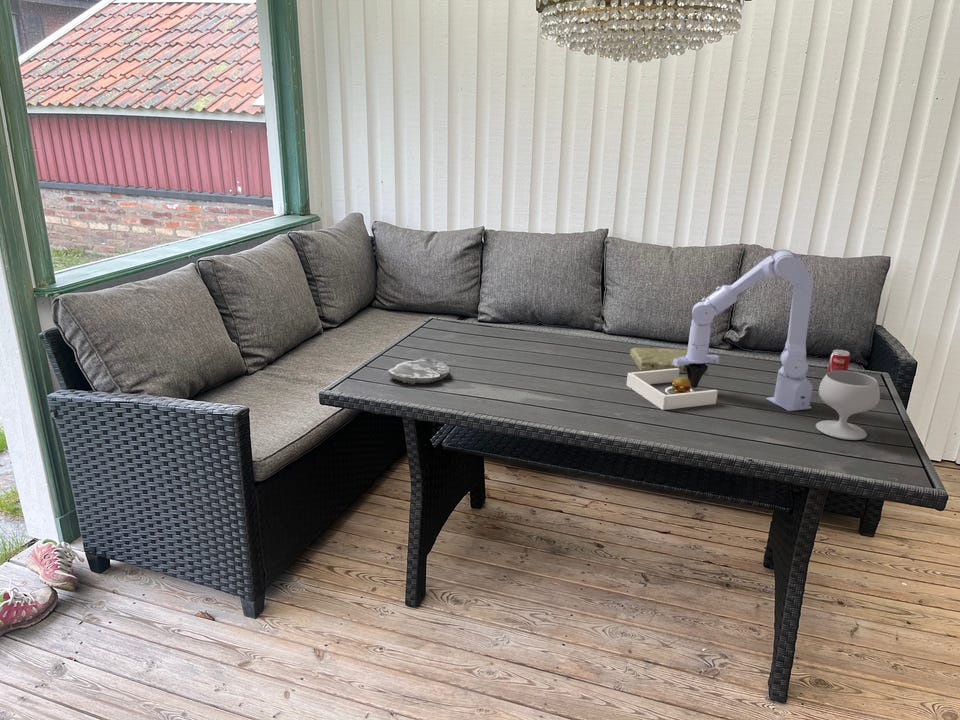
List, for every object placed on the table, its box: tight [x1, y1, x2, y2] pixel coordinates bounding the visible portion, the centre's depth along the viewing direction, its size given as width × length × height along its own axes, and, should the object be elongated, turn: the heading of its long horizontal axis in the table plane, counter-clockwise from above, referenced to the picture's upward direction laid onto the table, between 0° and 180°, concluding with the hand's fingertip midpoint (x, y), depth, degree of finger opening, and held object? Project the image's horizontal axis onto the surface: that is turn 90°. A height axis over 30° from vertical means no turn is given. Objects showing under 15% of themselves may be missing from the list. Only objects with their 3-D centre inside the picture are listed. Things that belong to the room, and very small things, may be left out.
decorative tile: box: [629, 346, 688, 374], centre depth 231 cm, size 19×20×4 cm
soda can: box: [826, 349, 851, 374], centre depth 210 cm, size 5×5×12 cm
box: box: [626, 368, 719, 411], centre depth 204 cm, size 20×18×4 cm
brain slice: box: [387, 357, 451, 385], centre depth 213 cm, size 20×17×3 cm
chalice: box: [815, 370, 881, 441], centre depth 180 cm, size 14×14×15 cm
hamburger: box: [664, 376, 696, 395], centre depth 205 cm, size 12×12×6 cm
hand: (692, 386), depth 206 cm, fingers closed
